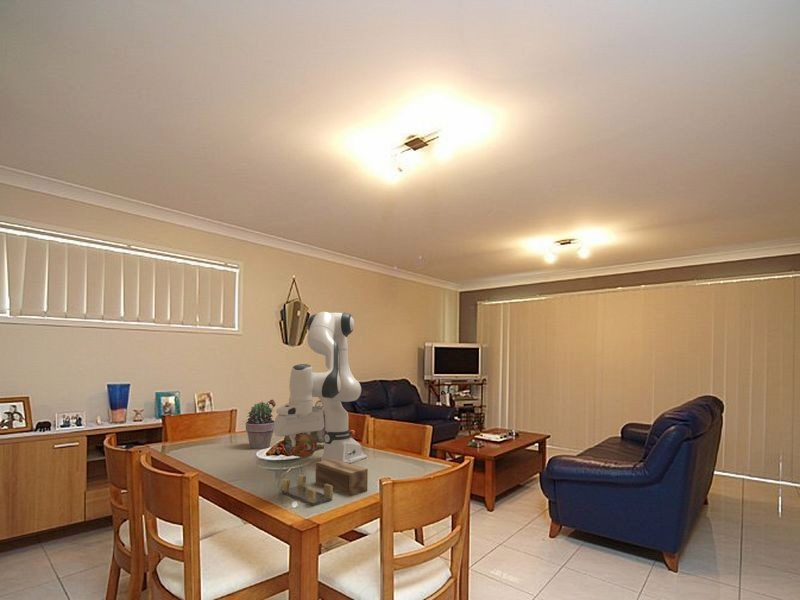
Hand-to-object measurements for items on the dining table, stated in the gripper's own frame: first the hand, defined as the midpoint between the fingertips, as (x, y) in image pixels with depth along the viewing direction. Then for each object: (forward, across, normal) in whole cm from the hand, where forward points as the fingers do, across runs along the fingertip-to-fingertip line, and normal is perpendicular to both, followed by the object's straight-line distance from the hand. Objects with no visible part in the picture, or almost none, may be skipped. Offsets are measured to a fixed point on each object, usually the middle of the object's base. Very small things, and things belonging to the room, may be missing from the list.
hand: (299, 445), depth 168 cm
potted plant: (+17, -28, -80) cm, 87 cm away
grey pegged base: (+17, 0, +5) cm, 18 cm away
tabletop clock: (+17, -50, -57) cm, 77 cm away
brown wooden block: (+17, -16, +5) cm, 24 cm away
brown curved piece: (+4, 0, 0) cm, 4 cm away
